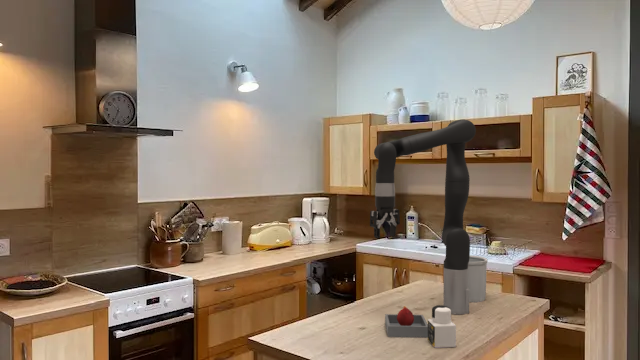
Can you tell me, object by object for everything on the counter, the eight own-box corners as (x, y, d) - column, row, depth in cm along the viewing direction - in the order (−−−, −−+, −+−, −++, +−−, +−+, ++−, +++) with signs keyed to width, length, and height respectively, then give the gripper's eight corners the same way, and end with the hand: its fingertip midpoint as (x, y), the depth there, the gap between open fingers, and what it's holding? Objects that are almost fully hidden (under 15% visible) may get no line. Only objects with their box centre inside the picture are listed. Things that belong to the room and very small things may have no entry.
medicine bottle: (427, 340, 162) (427, 304, 162) (448, 339, 163) (448, 303, 163) (434, 348, 155) (434, 310, 155) (456, 347, 156) (456, 309, 156)
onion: (415, 327, 174) (415, 304, 174) (412, 332, 168) (412, 308, 168) (398, 325, 176) (398, 303, 175) (395, 330, 170) (395, 307, 170)
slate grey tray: (422, 324, 178) (422, 314, 178) (428, 337, 165) (428, 326, 165) (385, 324, 179) (385, 314, 179) (387, 336, 166) (387, 326, 165)
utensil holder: (492, 303, 206) (492, 261, 206) (456, 303, 207) (456, 261, 206) (481, 293, 221) (481, 255, 221) (447, 293, 221) (447, 255, 221)
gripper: (379, 196, 182) (379, 240, 182) (404, 194, 191) (404, 236, 191) (364, 195, 187) (364, 237, 188) (390, 193, 197) (390, 234, 197)
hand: (385, 237), depth 189 cm, fingers open, 8 cm apart
